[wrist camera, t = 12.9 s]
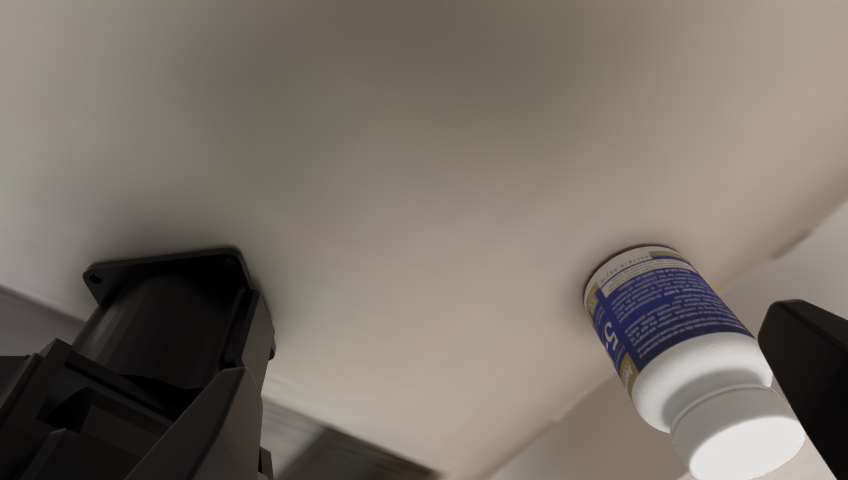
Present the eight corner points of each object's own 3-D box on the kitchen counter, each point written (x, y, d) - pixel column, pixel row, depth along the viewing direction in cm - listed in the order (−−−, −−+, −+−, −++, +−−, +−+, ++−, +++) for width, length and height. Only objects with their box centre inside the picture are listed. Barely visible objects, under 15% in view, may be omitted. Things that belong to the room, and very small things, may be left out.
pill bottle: (562, 284, 24) (645, 454, 16) (662, 222, 22) (804, 379, 15) (611, 342, 26) (702, 510, 19) (704, 289, 25) (843, 451, 17)
